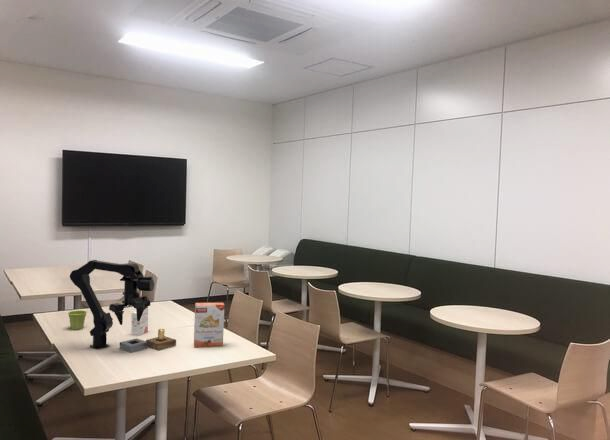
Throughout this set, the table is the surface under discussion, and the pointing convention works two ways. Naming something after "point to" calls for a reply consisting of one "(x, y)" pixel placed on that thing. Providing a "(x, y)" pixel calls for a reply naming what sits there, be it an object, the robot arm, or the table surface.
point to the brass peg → (161, 334)
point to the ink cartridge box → (139, 323)
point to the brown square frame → (161, 343)
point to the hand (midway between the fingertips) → (129, 323)
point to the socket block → (133, 345)
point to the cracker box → (209, 324)
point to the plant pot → (77, 319)
